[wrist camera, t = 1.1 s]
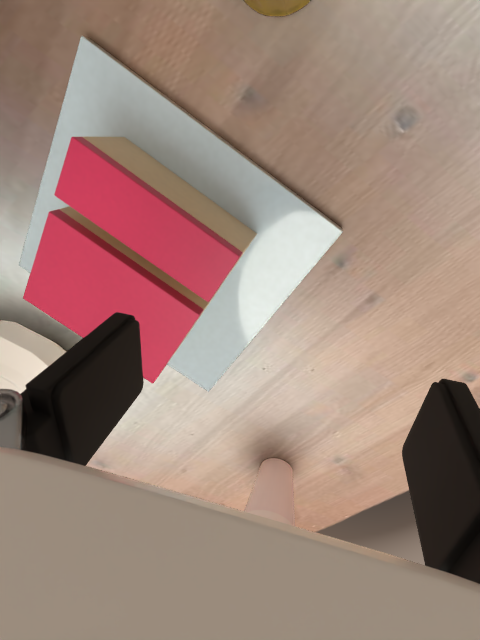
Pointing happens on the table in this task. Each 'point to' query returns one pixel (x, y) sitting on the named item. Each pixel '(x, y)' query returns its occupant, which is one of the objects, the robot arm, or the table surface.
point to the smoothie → (273, 492)
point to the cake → (109, 287)
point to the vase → (276, 6)
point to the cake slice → (152, 211)
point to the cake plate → (208, 178)
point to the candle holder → (23, 355)
